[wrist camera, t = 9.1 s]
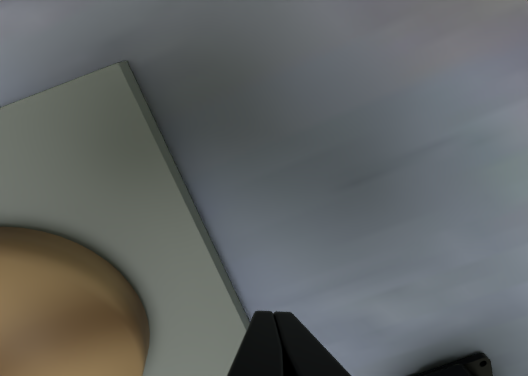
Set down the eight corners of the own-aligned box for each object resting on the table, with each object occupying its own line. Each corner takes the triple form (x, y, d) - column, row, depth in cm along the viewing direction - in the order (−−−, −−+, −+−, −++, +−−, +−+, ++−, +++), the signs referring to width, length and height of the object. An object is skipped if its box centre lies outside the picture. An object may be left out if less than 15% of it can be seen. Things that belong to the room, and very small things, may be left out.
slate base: (275, 377, 24) (278, 399, 22) (-18, 481, 24) (-34, 509, 23) (115, 37, 16) (105, 36, 15) (-309, 201, 17) (-361, 216, 15)
